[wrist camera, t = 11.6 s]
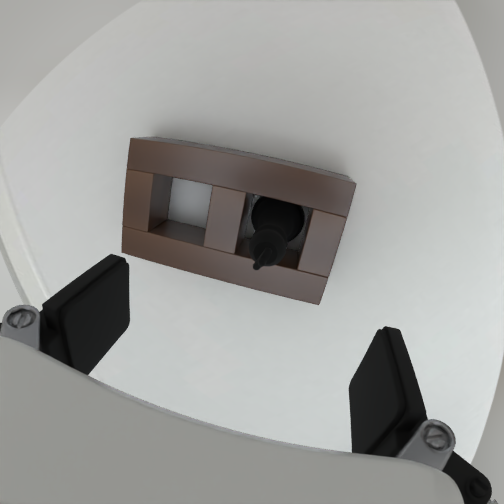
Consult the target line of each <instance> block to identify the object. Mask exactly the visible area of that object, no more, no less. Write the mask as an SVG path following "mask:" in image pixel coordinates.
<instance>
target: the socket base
mask: <svg viewBox="0 0 504 504" xmlns="http://www.w3.org/2000/svg"><path fill="white" fill-rule="evenodd" d="M172 177H175V178H180V179H185V180H190V181H196V182H200V183H205V184H210V185H213V187H212V193H211V199H210V205H209V211H208V218H207V224H206V229H204V228H200V227H196V226H192V225H188V224H184V223H179V222H175V221H171V220H167V218H168V209H169V201H170V193H171V185H172ZM355 188H356V183H355V182H354V181H353V180H352V179H350V178H349V177H348V176H344V175H341V174H337V173H333V172H330V171H326V170H322V169H318V168H314V167H310V166H306V165H302V164H298V163H294V162H290V161H286V160H281V159H277V158H272V157H268V156H263V155H258V154H254V153H249V152H244V151H239V150H233V149H228V148H223V147H217V146H212V145H206V144H200V143H194V142H187V141H181V140H174V139H167V138H160V137H139V138H131V139H130V146H129V154H128V162H127V172H126V182H125V193H124V207H123V224H122V225H123V227H122V253H125V254H128V255H131V256H135V257H138V258H142V259H145V260H149V261H152V262H156V263H159V264H163V265H166V266H170V267H173V268H177V269H180V270H184V271H188V272H191V273H195V274H199V275H202V276H206V277H210V278H213V279H217V280H221V281H225V282H228V283H232V284H236V285H240V286H244V287H247V288H251V289H255V290H259V291H263V292H267V293H271V294H275V295H279V296H283V297H287V298H291V299H295V300H299V301H304V302H308V303H312V304H316V305H319V304H320V301H321V298H322V295H323V292H324V289H325V287H326V284H327V281H328V277H329V274H330V271H331V268H332V265H333V262H334V259H335V256H336V253H337V249H338V246H339V243H340V240H341V236H342V233H343V230H344V226H345V223H346V220H347V216H348V213H349V209H350V206H351V202H352V199H353V195H354V191H355ZM253 194H256V195H260V196H265V197H269V198H273V199H277V200H281V201H286V202H290V203H294V204H298V205H302V206H306V207H310V209H309V213H308V216H307V220H306V224H305V228H304V232H303V236H302V239H301V243H300V247H299V250H298V251H294V250H290V249H286V252H285V255H284V257H283V259H282V260H281V261H280V262H279V263H278V264H276V265H273V266H262V267H261V268H260V269H259V270H254V269H253V264H254V263H255V261H254V260H253V259H252V258H251V256H250V254H249V249H248V247H249V242H250V239H246V238H244V237H245V232H246V227H247V222H248V217H249V212H250V207H251V202H252V197H253Z"/></svg>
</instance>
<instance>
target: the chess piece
mask: <svg viewBox="0 0 504 504" xmlns="http://www.w3.org/2000/svg"><path fill="white" fill-rule="evenodd" d="M251 219H252V225H253V228H254V230H255V232H254V234H253V236H252V238H251V240H250V242H249V247H248V249H249V254H250V256H251V258H252V259H253V260H254V261H255V263H254V264H253V269H254V270H259V269H260V268H261V267H262V266H273V265H276V264H278V263H279V262H280V261H281V260H282V259H283V257H284V255H285V252H286V247H287V242H289V241H291V240H293V239H294V238H296V237H297V236H298V235H299V233H300V232H301V230H302V228H303V225H304V212H303V209H302V207H301V205H298V204H294V203H290V202H286V201H281V200H277V199H273V198H269V197H265V196H263V197H261V198H260V199H259V200H258V201H257V202H256V204H255V205H254V207H253V210H252V216H251Z"/></svg>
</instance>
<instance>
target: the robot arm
mask: <svg viewBox="0 0 504 504" xmlns="http://www.w3.org/2000/svg"><path fill="white" fill-rule="evenodd" d="M42 307H43V310H41V311H40V312H39V311H38V309H37V308H35V307H34V306H30V305H19V306H15V307H13V308H11V309H10V310H8V311H7V312H6V313H5V315H4V317H3V321H2V323H0V504H498V503H497V501H496V500H495V499H494V500H493V501H492V502H491V500H490V498H491V494H492V488H491V484H490V482H489V480H488V479H487V478H486V477H485V476H484V475H483V474H482V473H481V472H479V471H478V470H477V469H475V468H474V467H473V466H472V465H470V464H469V463H468V462H467V461H465V460H464V459H463V458H462V457H460V456H459V455H458V454H456V453H455V452H454V451H453V449H454V447H455V444H456V441H455V436H454V433H453V431H452V430H451V428H450V427H449V426H448V425H446V424H445V423H443V422H441V421H439V420H435V419H430V420H428V419H427V415H426V409H425V406H424V402H423V399H422V395H421V392H420V389H419V385H418V382H417V379H416V376H415V372H414V369H413V366H412V363H411V360H410V357H409V354H408V351H407V348H406V345H405V342H404V340H403V337H402V334H401V331H400V330H399V329H396V328H391V327H386V326H385V327H384V328H383V329H382V330H381V329H379V330H378V331H377V332H376V334H375V336H374V338H373V340H372V342H371V344H370V346H369V348H368V350H367V352H366V354H365V356H364V358H363V360H362V362H361V363H360V365H359V367H358V369H357V371H356V373H355V374H354V376H353V378H352V380H351V382H350V385H349V400H350V416H351V438H352V453H350V452H342V451H335V450H328V449H321V448H315V447H309V446H303V445H297V444H292V443H286V442H281V441H277V440H272V439H267V438H263V437H259V436H255V435H250V434H246V433H242V432H239V431H235V430H231V429H227V428H224V427H220V426H217V425H213V424H210V423H207V422H204V421H200V420H197V419H194V418H191V417H188V416H185V415H182V414H179V413H176V412H173V411H171V410H168V409H165V408H162V407H160V406H157V405H154V404H152V403H149V402H147V401H144V400H142V399H139V398H137V397H134V396H132V395H129V394H127V393H125V392H122V391H120V390H118V389H115V388H113V387H111V386H109V385H107V384H104V383H102V382H100V381H98V380H96V379H94V378H92V377H90V376H88V375H89V373H90V372H91V371H92V370H93V369H94V367H95V366H96V365H97V364H98V362H99V361H100V360H101V359H102V358H103V356H104V355H105V354H106V353H107V352H108V351H109V349H110V348H111V347H112V346H113V345H114V343H115V342H116V341H117V340H118V339H119V338H120V336H121V335H122V334H123V333H124V332H125V331H126V329H127V328H128V326H129V323H130V308H129V264H128V263H126V259H125V258H123V257H120V256H117V255H113V254H110V255H108V256H107V257H106V258H104V259H103V260H101V261H100V262H98V263H97V264H96V265H94V266H93V267H91V268H90V269H89V270H87V271H86V272H84V273H83V274H82V275H80V276H79V277H78V278H76V279H75V280H74V281H72V282H71V283H69V284H68V285H67V286H65V287H64V288H63V289H61V290H60V291H59V292H58V293H56V294H55V295H54V296H52V297H51V298H50V299H48V300H47V301H46V302H45V303H43V304H42Z"/></svg>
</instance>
